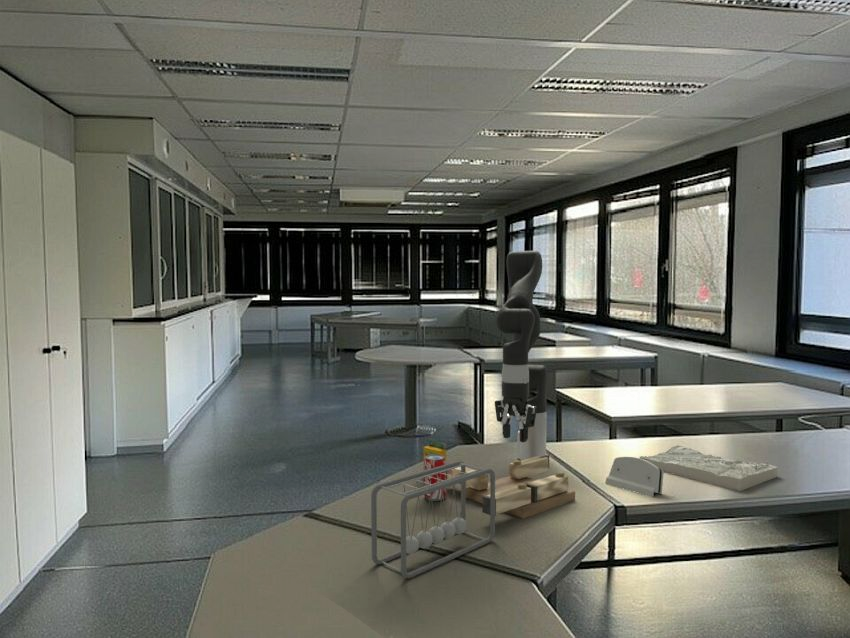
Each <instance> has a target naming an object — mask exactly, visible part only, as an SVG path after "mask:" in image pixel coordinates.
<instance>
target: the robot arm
mask: <svg viewBox="0 0 850 638" xmlns="http://www.w3.org/2000/svg"><path fill="white" fill-rule="evenodd" d="M506 273H507V281H508V289H509V291H508V295H507V299H506V301H505V303H504V304H503V305H502V306H501V308H500V309H499V310H498V313H497V316H496V319H495V324H496V325H495V326H496V328H497V330H498V331H499V332H500V333H502V334H505V335H509V334H510V335H511V334H512V335H513V341H510V342H509V341H508V342H507V343H504V344H503V346H502V369H501V396H502V397H503V399H500V400H499V399H498V400H495V401H494V408H495V414H496V415H495V417H496V421H497V422H500V423H501V426H502V437H503V438H504V439H509V438H511V421H512V419H513V417H514V418H515V420H516V421H517V422H518V425H519V430H518V431H517V433H516V435H517V437H516V438H517V439H516V444H517V445H516V452H517V453H516V456H517V457H516V458H517V460H519V461H521V460H525V459H529V458H532V457H536V456H545V455H547V397H548V396H547V395H548V393H547V391H548V380H549V379H548V376H549V374H548V369H547V366H545V365H544V364H541V365H540V364H529V353H530V351H531V350H532V348H533V347H534V345H535V344H536V343H537V340H538V339H539V337H540V335H541V316H540V315H541V314H540V313H539V310H538V308H537V307H536V306H535V305H534V303H533V302H532V301H533V296H534V292H535V290H536V289H537V286H538V283H539V282H540V280H541V277H542V274H543V258H542V254H541V252H539V251H538V250H516V251H515V250H514V251H509V252H508V254H507V256H506ZM530 392H536V395H535V396H534V397H531V398H529V396H530ZM528 398H529V399H528Z"/></svg>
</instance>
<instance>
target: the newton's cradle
mask: <svg viewBox="0 0 850 638" xmlns="http://www.w3.org/2000/svg"><path fill="white" fill-rule="evenodd" d="M458 467H461V475H460V476H457V477H454V476H452V478H450V479H447V480H444V481H443V480H442V481H441V482H438V483H435V484H430V481H429V483H427V484H429V485H428V486H425V487H424V486H422V487H419V486H418V482H421V483H425V482H424V481H422V479H424V478H425V477H428V479H429V477H430V476H431V475H435V474H438V473H441V472H445V471H448V470H451V474H452V469H455V468H458ZM465 467H467V468H470V469H474V470H476V471H472V472H469V473H466V468H465ZM481 470H482V471H481ZM454 471H456V470H454ZM478 471H479V472H478ZM458 472H459V471H458ZM442 474H443V473H442ZM485 474H488V475H489V477H490V481H489V482H490V515H489V516H490V517H489V519H490V523H489V525H490V526H489V528H490V529H489V535H488V536H487V537H485V538H484V537H482V536H479V535H476V534H473V533H471V532H468V531H467V528H468V524H467V521H466V516H467V515H466V512H467V511H466V508H467V506H466V502H467V501H466V499H467V498H466V488H467V486H466V481H467V480H470V479H473V478H476V477H479V476H482V475H485ZM445 475H447V474H445ZM449 476H450V475H449ZM453 477H454V478H453ZM459 477H460V478H459ZM432 478H433V477H432ZM440 478H441V474H440ZM456 478H457V479H456ZM420 479H421V480H420ZM435 479H436V478H435ZM453 479H454V480H453ZM438 480H440V479H438ZM495 480H496V475H495V471H494V470H493V469H492V468H481V467H477V466H474V465H470V464H466V463H464V462H463V461H461V460H457V461H456V460H455V461H452V462H449V463H446V465H442V466H439V467H436V468H432V469H429V470H425V471H424V470H422V471H420V472H415V473H412V474H408V475H405V476H402V477H399V478H395V479H392V480H388V481H385V482H381V483H378V484H377V485H375V487H374V488H373V489H372V492H371V497H370V499H371V500H370V501H371V503H370V504H371V506H370V507H371V509H370V510H371V517H370V518H371V526H370V527H371V560H372V562H373V563H374V564H376V565H382V564H383V565H385V566H387V567H389V568H391V569H394V570H396V571H398V572H399V573H401V576H402V577H403V578H405V579H408V580H409V579H412V578H414V577H417V576H418V575H421V574H423V573H425V572H427V571H429V570H431V569H435V568H436V567H438V566H441V565H443V564H445V563H448V562H450V561H452V560H454V559H456V558H459V557H461V556H463V555H465V554H467V553H470V552H472V551H474V550H476V549H479V548H481V547H483V546H486V545H487V544H489V543H491V542H492V541H493V540H494V538H495V534H496V533H495V532H496V516H495ZM414 481H415V482H416V487H415V486H414V485H413V486H412V485H409V484H408V483H411V482H414ZM459 483H461V484H460V513H458V512H456V516H457V517H455V518H454V519H452V521H450V520H451V513H452V506H453V505H452V504H453V501H455V509H456V511H458V507H457V500H456V492H455V486H456V485H458V484H459ZM401 485H403V491H404V492H400V491H398V490H394V489H392V488H395V487H398V486H401ZM434 485H435V486H434ZM405 486H409V487H413V488H415V489H413V490H410V491H406V487H405ZM452 486H453V487H452ZM428 487H429V488H428ZM448 487H452V488H453V490H452V497H451V504H450V511H449V516H448V517H449V519H447V517H445V522H443V523H441V525H440V526H439V523H437V525H436V519H435V518H433V523H434V526H432V527H431V528H429V530H428V531H427V524H428V518H429V510H430V504H431V506H432V507H431V508H432V516H433V517H435V513H434V512H435V511H434V505H433V503H431V502H433V501H432V496H431V492H434V491H437V490H440V489H442V494H443V488H446V489H447V488H448ZM425 488H426V489H425ZM382 489H384V490H386V491H390V492H393V493H394V494H395V493H396V494H399V495H401V496H403V498H402V500H401V502H400V550H399V551H395V552H394V553H391V554H388V555H385V556H384V557H380V558H378V543H377V542H378V537H377V535H378V534H377V533H378V532H377V530H378V529H377V527H378V526H377V525H378V523H377V521H378V520H377V519H378V518H377V515H378V514H377V512H378V511H377V510H378V509H377V506H378V505H377V503H378V502H377V495H378V492H379V491H380V490H382ZM428 493H430V498H431V500H428V509H427V516H426V520H425V521H426V523H425V529H424V525H423V524H424V523H423V517H422V515H420V520H421V527H422V528H421V529H422V531H419V532H418V533H417V535H416V537H415V536H413V533H414V528H415V520H416V515H417V511H418V506H419V512H420V514H422V510H421V509H422V508H421V501H420V497H421V496H424V495H425V494H428ZM414 498H415V499H416V498H417V500H416V505H415V513H414V518H413V525H412V530H411V532H410V531H408V536H407V528H408V530H410V524H409V522H407V521H409V517H408V506H407V504H408V502H409V501H410V500H412V499H414ZM453 498H454V500H453ZM442 502H443V507H444V514H445V516H447V512H446V511H447V509H446V505H445V504H446V503H445V497H444V496H443V499H442V496H441V500H440V504H439V505H440V506H439V512H438V517H437V522H439V520H440V513H441V506H442ZM418 504H419V505H418ZM407 526H408V527H407ZM461 534H466V535H469V536H472V537H475V538H478V539H481V540H480V541H477V542H475V543H473V544H470V545H468V546H466V547H464V548H462V549H459V550H457V551H455V552H454V551H453V553H451V554H448V555H446V556H444V557H441V558H439V559H437V560H435V561H432V562H430V563H428V564H425V565H423V566H420V567H418V568H416V569H414V570H412V571H409V572H407V555H413V554H416V553H417V552H418V550H419V549H422V550H424V549H428V548H429V547H431V546H432V544H436V545H437V544H440V543H442V542H443V541H444V539H445V540H447V539H448V540H449V539H452V538H453V537H454V536H455V535H461ZM399 557H400V568H398V567H396V566H393V565H391V564H390V563H388V562H390V561H392V560H395V559H397V558H399Z"/></svg>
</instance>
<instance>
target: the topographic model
mask: <svg viewBox="0 0 850 638" xmlns="http://www.w3.org/2000/svg"><path fill="white" fill-rule="evenodd" d="M639 458H640V459H643V460H646V461H649V462H651V463H653V464H655V465H656V466H658V467H659V468H661V469H662V470H663V472H664V471H665V473H668V472H669V473H668V474H672V473H673V474H672V475H677V476H680V477H683V476H684V478H686V479H687V478H688V479H691V480H695V479H696V480H695V481H699V480H700V481H699V482H702V483H707V484H710V483H712V484H711V485H714V484H715V486H719V487H723V488H725V489H731V490H734V491H738V492H741V491H744V490H746V489H749V488H752V487H754V486H757V485H759V484H761V483H765V482H767V481H769V480H772V479H775V478H777V477H778V466H777V465H776V466H775V465H772V464H768V463H769V462H768V460H766V461H765V463H761V462H756V461H750V462H748V461H746V462H744V461H743V460H739V459H737V460H733V459H728V458H724V457H721V456H715V455H712V454H703V453H701V452H700V451H698V450H694V449H693V448H691V447H685V446H682V445H678V444H677V445H675V446H672V447H671V448H669V449H668V450H666V451H665V452H661V453H660V452H659V453H657V454H655V455H651V456H650V455H649V456H647V455H645V456H644V455H642V456H639Z"/></svg>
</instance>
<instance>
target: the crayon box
mask: <svg viewBox="0 0 850 638" xmlns="http://www.w3.org/2000/svg"><path fill="white" fill-rule="evenodd" d="M428 444H429V445H426V446H423V462H424V461H425V459H426V456H428V455H442V456H444V458H445V461H446V462H447V443H445V442H441V441H438V440H431V439H429V443H428ZM437 444H438V445H437Z"/></svg>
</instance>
